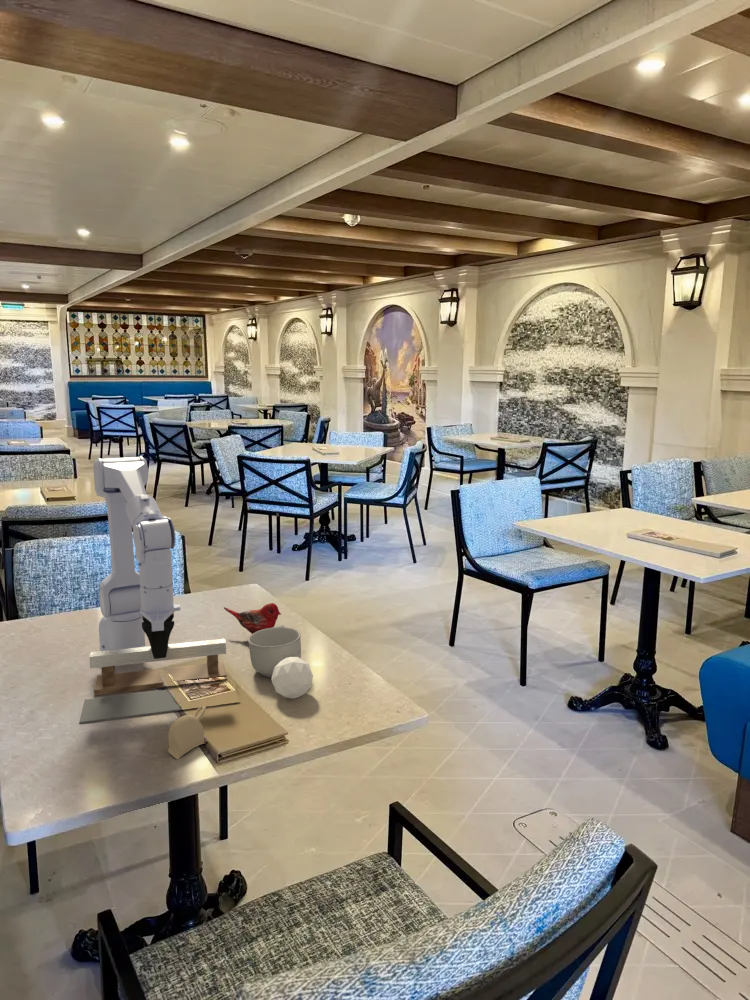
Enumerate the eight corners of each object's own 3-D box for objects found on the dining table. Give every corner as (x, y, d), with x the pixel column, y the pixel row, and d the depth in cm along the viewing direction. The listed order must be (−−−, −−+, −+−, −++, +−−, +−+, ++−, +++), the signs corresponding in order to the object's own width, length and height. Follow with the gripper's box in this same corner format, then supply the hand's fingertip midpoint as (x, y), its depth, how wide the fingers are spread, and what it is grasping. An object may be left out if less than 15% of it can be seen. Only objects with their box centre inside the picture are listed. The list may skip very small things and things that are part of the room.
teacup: (291, 684, 138) (291, 647, 137) (240, 679, 140) (239, 642, 139) (312, 657, 151) (311, 622, 150) (265, 653, 154) (264, 619, 152)
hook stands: (94, 695, 133) (92, 664, 132) (97, 680, 139) (95, 651, 138) (226, 679, 140) (225, 650, 139) (223, 666, 147) (222, 638, 145)
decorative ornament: (160, 752, 113) (158, 721, 112) (200, 731, 120) (199, 702, 119) (176, 760, 111) (174, 729, 110) (216, 738, 117) (215, 709, 116)
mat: (79, 723, 122) (79, 722, 122) (84, 701, 130) (84, 699, 130) (240, 703, 130) (240, 701, 130) (235, 683, 138) (235, 681, 138)
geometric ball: (303, 707, 134) (327, 680, 132) (272, 706, 129) (295, 677, 126) (289, 677, 139) (311, 650, 137) (257, 674, 133) (280, 646, 131)
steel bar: (90, 668, 124) (89, 656, 124) (91, 663, 126) (90, 652, 126) (226, 653, 131) (225, 642, 131) (225, 649, 133) (224, 638, 133)
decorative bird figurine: (277, 649, 156) (276, 606, 154) (219, 633, 165) (218, 593, 163) (285, 645, 158) (285, 603, 156) (228, 630, 167) (227, 590, 166)
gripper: (180, 594, 121) (183, 667, 123) (178, 572, 134) (181, 638, 137) (137, 597, 118) (141, 672, 121) (139, 574, 132) (143, 642, 135)
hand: (159, 654), depth 129 cm, fingers closed on steel bar, 2 cm apart
